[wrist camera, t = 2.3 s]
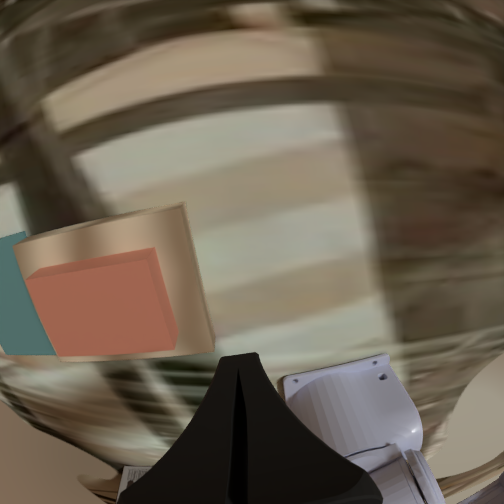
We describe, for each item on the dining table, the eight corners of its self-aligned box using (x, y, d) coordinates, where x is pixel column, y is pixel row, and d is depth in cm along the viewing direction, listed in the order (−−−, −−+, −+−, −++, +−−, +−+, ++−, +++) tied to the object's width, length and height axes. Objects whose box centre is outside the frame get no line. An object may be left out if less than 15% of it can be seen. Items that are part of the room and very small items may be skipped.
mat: (24, 231, 19) (22, 232, 18) (71, 352, 22) (70, 354, 22) (-36, 250, 19) (-38, 251, 18) (7, 352, 22) (6, 354, 22)
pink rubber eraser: (154, 247, 18) (146, 259, 16) (178, 331, 20) (174, 349, 18) (39, 268, 18) (24, 280, 16) (69, 340, 20) (58, 356, 18)
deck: (185, 201, 19) (180, 207, 17) (215, 335, 22) (214, 351, 21) (26, 237, 19) (12, 245, 17) (69, 347, 22) (60, 361, 20)
